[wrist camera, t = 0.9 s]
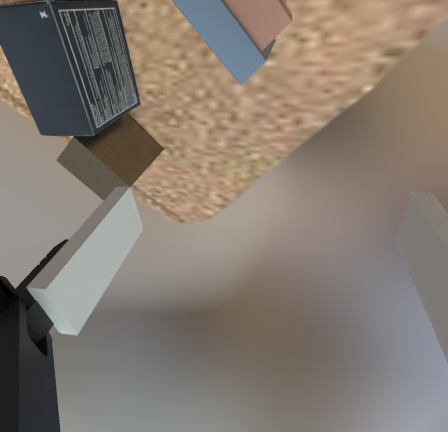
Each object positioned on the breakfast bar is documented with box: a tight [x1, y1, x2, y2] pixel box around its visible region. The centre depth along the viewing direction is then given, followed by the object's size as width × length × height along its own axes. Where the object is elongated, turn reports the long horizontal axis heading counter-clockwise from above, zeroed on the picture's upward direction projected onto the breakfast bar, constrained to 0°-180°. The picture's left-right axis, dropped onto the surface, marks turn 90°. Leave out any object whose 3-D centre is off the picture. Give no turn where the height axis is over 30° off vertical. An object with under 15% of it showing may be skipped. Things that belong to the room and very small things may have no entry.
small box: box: [0, 0, 140, 136], centre depth 29 cm, size 11×6×10 cm, turn 4°
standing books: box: [172, 0, 292, 85], centre depth 23 cm, size 7×5×13 cm, turn 43°
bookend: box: [57, 113, 164, 200], centre depth 34 cm, size 7×4×10 cm, turn 43°
